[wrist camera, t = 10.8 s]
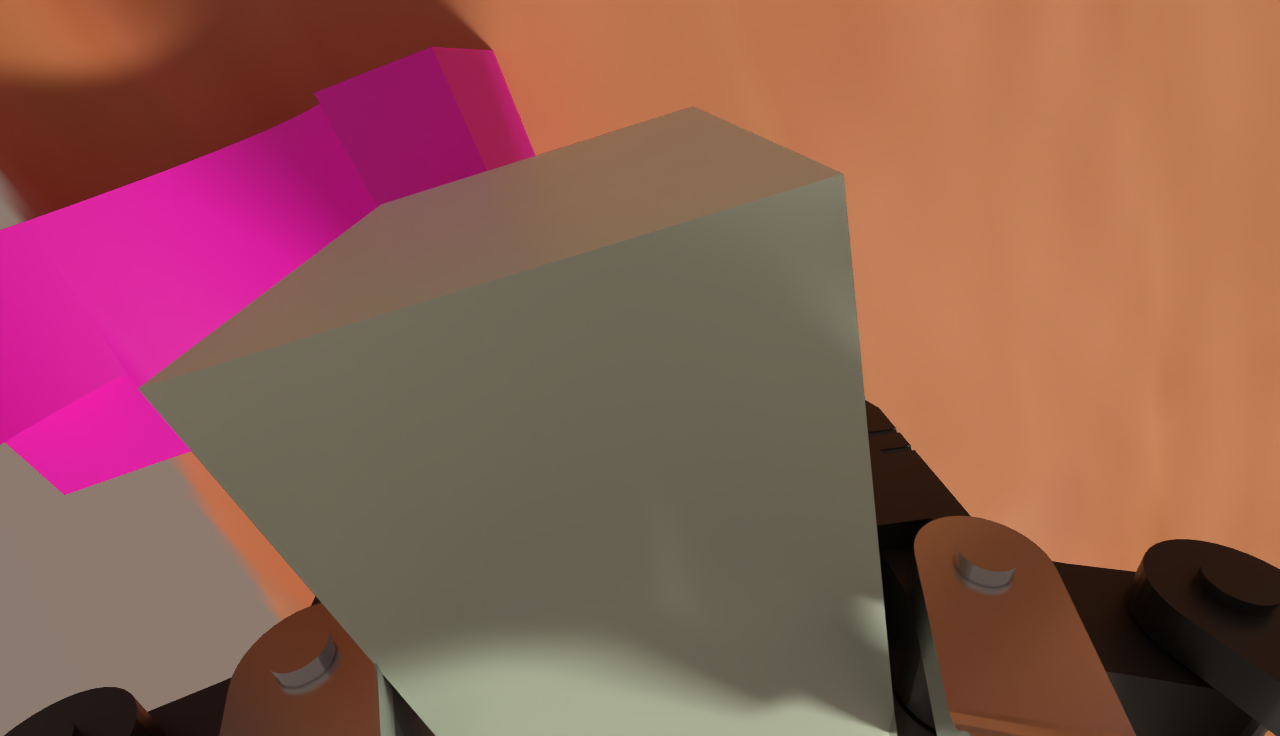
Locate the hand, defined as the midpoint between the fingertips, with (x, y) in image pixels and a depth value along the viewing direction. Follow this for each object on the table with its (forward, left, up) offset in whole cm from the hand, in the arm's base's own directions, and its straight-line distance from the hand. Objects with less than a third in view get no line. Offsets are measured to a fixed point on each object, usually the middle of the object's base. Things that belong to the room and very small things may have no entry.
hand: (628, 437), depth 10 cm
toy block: (+9, -1, -10) cm, 14 cm away
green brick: (0, 0, -1) cm, 1 cm away
